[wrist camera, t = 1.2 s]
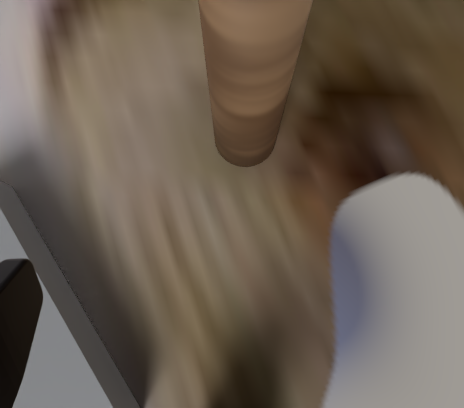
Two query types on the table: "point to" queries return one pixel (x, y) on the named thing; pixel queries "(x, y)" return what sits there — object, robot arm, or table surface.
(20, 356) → the robot arm
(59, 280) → the hole plate
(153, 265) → the table surface
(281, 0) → the walnut pin
